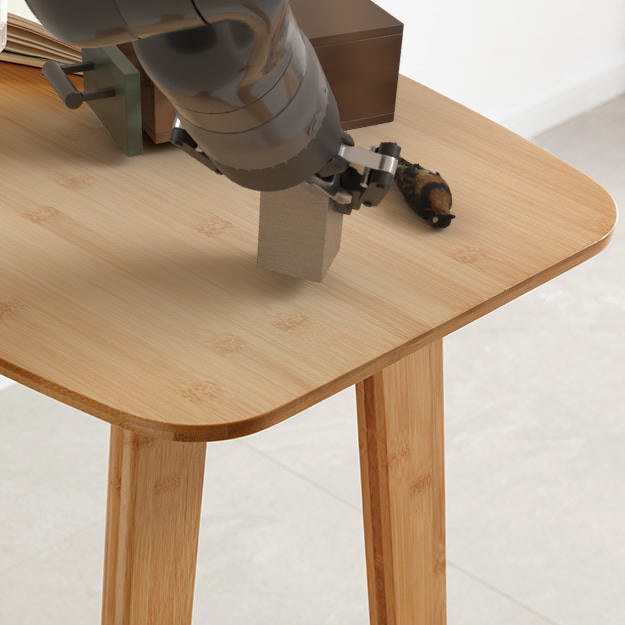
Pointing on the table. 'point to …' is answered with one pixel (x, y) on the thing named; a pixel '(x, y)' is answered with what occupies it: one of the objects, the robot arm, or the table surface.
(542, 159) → the table surface
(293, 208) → the steel tin
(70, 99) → the drawer
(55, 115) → the table surface
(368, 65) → the cabinet
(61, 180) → the table surface
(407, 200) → the bird model
